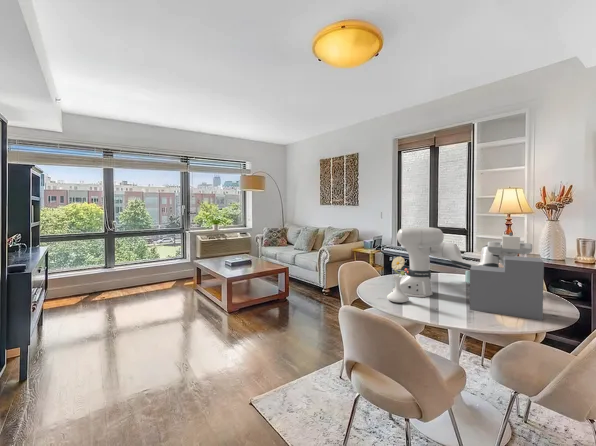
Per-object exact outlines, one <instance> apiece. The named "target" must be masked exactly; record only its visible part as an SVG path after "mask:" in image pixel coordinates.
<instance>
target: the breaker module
mask: <svg viewBox="0 0 596 446" xmlns="http://www.w3.org/2000/svg"><path fill="white" fill-rule="evenodd" d="M501 242H502V248H507V249H520V243H521V236H520V235H518V234H517V235H516V234H514V233H513V232H512V231H511V232H510V231H509V233H508V234H502V237H501Z"/></svg>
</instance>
